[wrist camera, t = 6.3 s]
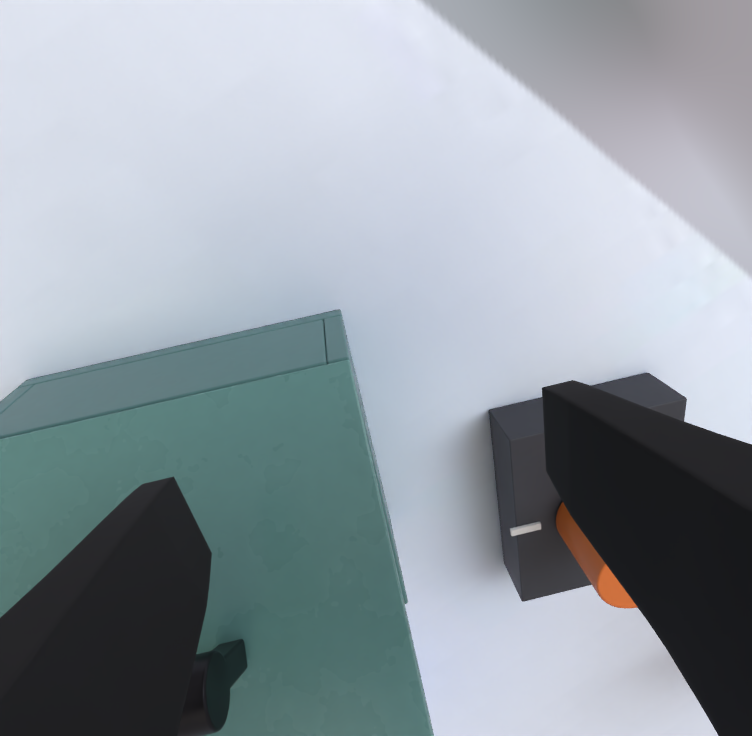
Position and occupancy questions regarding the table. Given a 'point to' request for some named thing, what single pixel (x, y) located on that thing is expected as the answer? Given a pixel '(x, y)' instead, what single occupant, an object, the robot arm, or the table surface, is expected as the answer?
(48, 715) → the robot arm
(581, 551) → the dial
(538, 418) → the thermostat box
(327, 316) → the teal hollow box
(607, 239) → the table surface
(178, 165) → the table surface
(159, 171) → the table surface
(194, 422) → the lid
